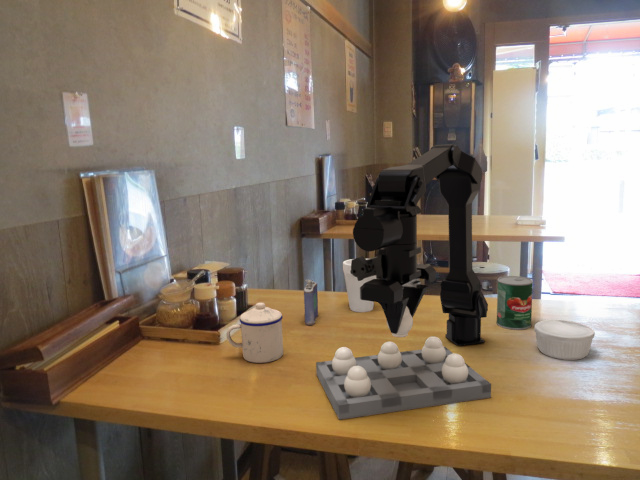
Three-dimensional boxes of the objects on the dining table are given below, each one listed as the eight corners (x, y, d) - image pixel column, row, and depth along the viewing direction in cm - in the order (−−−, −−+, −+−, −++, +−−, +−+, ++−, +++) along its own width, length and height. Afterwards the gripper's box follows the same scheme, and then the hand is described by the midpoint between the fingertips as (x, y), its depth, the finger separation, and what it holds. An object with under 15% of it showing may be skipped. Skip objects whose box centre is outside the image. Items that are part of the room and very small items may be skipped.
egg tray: (316, 374, 102) (315, 341, 101) (444, 358, 108) (445, 327, 106) (339, 419, 85) (337, 380, 84) (490, 397, 90) (491, 360, 89)
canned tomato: (519, 332, 121) (521, 286, 119) (489, 324, 127) (490, 280, 125) (537, 324, 125) (539, 279, 124) (508, 316, 132) (509, 274, 130)
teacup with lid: (283, 346, 118) (280, 296, 116) (285, 362, 109) (282, 308, 107) (229, 350, 117) (226, 299, 115) (227, 366, 108) (223, 312, 106)
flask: (314, 326, 130) (312, 284, 129) (302, 326, 131) (300, 284, 129) (319, 314, 139) (317, 275, 138) (308, 314, 140) (306, 275, 138)
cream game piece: (407, 329, 95) (407, 299, 95) (416, 337, 91) (416, 305, 90) (383, 331, 95) (383, 301, 94) (391, 340, 90) (391, 308, 89)
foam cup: (355, 316, 137) (354, 267, 135) (338, 307, 145) (336, 261, 143) (385, 309, 141) (384, 262, 139) (367, 301, 149) (366, 257, 147)
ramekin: (600, 350, 109) (601, 325, 108) (583, 367, 101) (584, 341, 100) (545, 338, 116) (546, 315, 116) (525, 353, 108) (526, 329, 108)
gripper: (382, 232, 102) (383, 309, 105) (331, 247, 87) (333, 337, 89) (437, 235, 96) (436, 317, 99) (392, 252, 81) (392, 349, 83)
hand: (400, 329), depth 93 cm, fingers closed on cream game piece, 5 cm apart
